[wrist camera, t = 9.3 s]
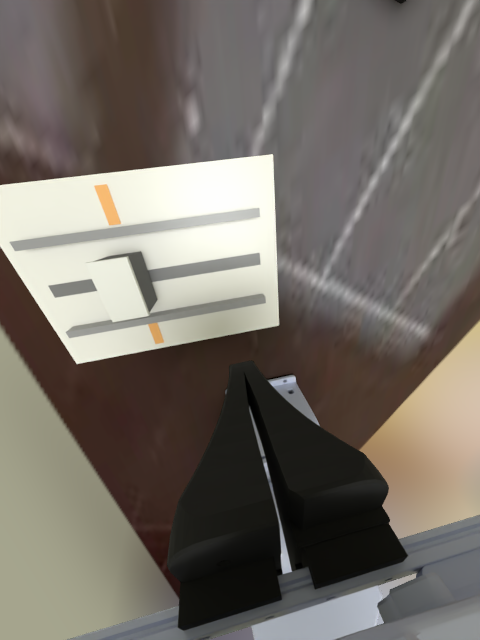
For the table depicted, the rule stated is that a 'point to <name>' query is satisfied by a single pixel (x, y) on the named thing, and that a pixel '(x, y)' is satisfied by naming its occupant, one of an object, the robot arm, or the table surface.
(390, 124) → the table surface
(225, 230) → the console
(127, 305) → the fader tab
